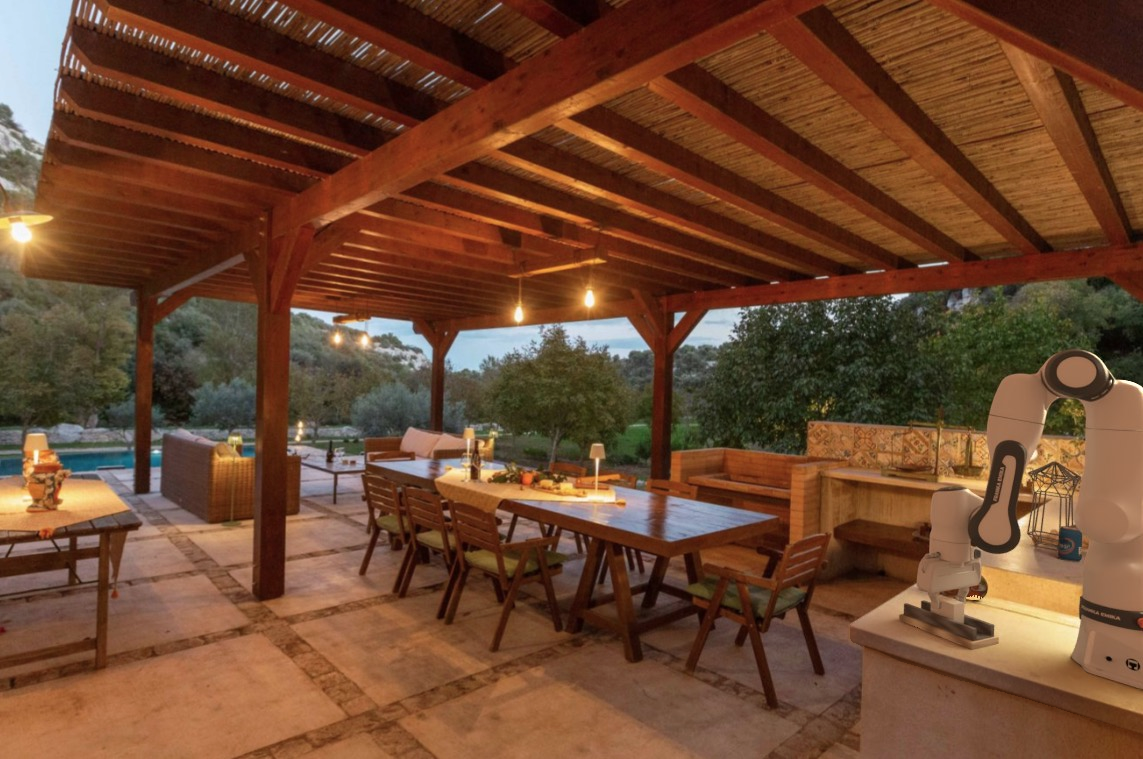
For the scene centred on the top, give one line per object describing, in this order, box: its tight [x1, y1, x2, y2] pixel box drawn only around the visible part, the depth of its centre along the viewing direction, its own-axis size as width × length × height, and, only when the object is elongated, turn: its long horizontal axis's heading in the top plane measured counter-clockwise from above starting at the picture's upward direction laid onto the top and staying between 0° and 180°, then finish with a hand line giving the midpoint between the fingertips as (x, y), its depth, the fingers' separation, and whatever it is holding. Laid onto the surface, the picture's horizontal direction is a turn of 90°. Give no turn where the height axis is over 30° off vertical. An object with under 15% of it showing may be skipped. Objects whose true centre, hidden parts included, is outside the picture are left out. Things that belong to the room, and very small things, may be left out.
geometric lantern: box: [1026, 461, 1082, 552], centre depth 251 cm, size 16×16×35 cm
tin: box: [939, 574, 989, 600], centre depth 184 cm, size 15×3×8 cm, turn 50°
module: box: [931, 594, 965, 624], centre depth 156 cm, size 6×4×6 cm, turn 25°
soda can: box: [1057, 525, 1083, 563], centre depth 232 cm, size 7×7×12 cm
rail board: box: [898, 600, 1000, 650], centre depth 156 cm, size 19×10×4 cm, turn 25°
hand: (948, 606), depth 156 cm, fingers open, 8 cm apart
